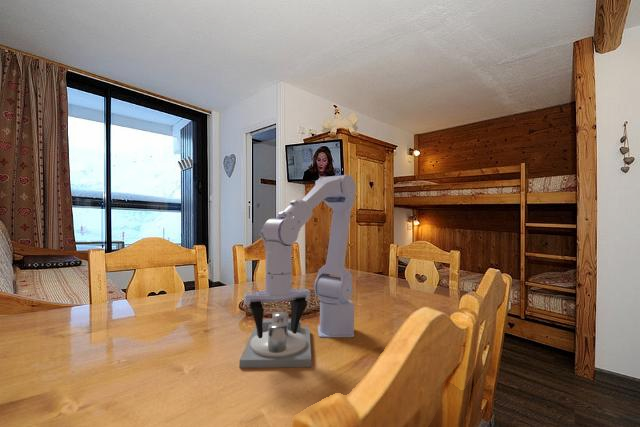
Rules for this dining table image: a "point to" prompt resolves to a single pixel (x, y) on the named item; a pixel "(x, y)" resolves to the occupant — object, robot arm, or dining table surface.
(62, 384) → the dining table surface
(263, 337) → the scale
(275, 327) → the cylinder
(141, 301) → the dining table surface
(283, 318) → the cylinder
